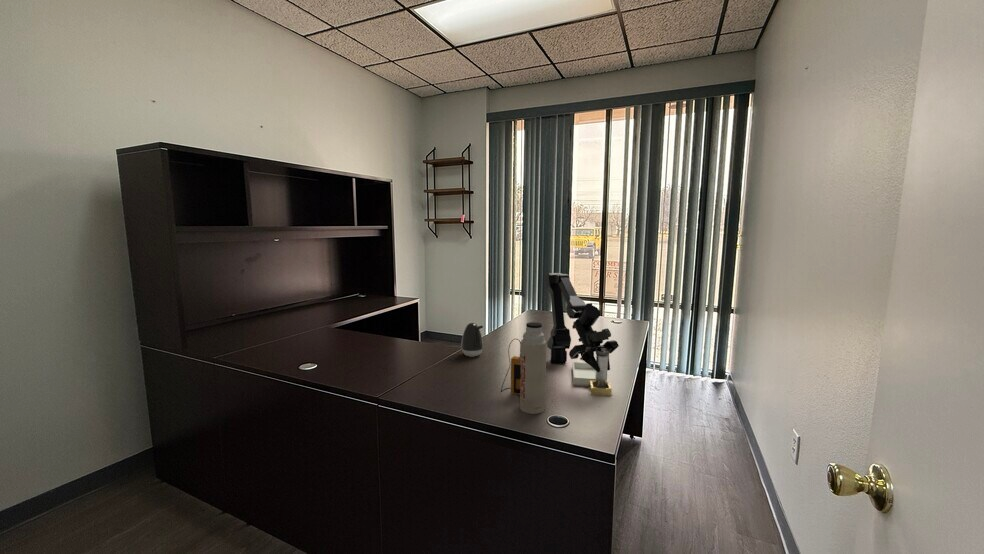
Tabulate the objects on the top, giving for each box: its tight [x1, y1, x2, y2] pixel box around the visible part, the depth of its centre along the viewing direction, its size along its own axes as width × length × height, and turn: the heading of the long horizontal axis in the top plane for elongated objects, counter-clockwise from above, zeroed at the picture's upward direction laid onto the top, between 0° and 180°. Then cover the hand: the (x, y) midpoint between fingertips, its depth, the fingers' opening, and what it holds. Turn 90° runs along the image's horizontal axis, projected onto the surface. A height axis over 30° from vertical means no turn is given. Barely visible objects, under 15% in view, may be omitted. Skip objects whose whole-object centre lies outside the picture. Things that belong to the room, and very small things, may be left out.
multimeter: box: [500, 338, 521, 396], centre depth 140 cm, size 15×10×20 cm
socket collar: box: [589, 381, 612, 397], centre depth 140 cm, size 7×7×2 cm
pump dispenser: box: [460, 322, 484, 358], centre depth 180 cm, size 10×10×15 cm
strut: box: [595, 349, 610, 388], centre depth 139 cm, size 5×5×14 cm
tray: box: [571, 361, 596, 387], centre depth 153 cm, size 10×18×3 cm, turn 170°
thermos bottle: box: [519, 321, 547, 415], centre depth 125 cm, size 8×8×28 cm
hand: (604, 370), depth 138 cm, fingers closed on strut, 4 cm apart
